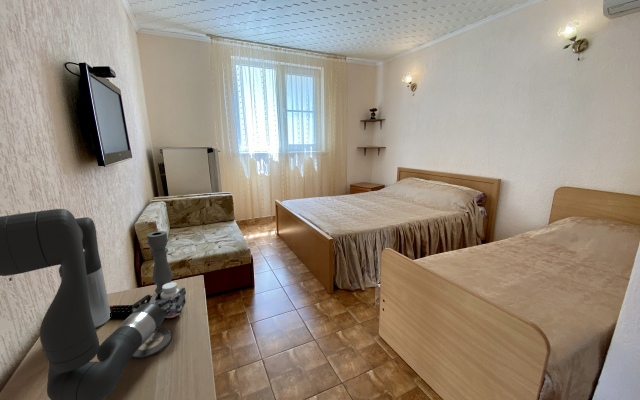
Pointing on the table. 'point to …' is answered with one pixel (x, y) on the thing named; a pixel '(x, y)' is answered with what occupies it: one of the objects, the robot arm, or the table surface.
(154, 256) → the candle holder
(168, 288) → the pill bottle
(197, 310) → the table surface
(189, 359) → the table surface
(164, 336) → the small round plate
